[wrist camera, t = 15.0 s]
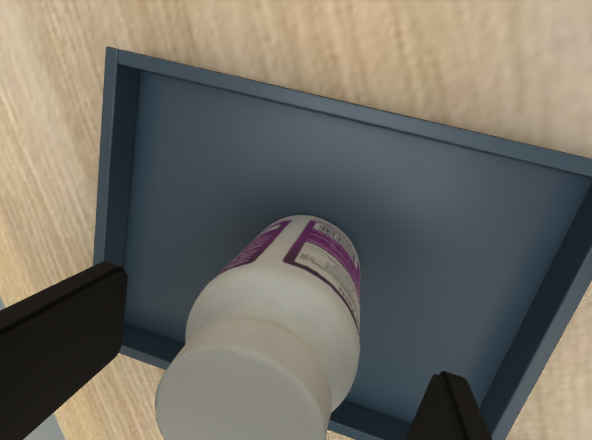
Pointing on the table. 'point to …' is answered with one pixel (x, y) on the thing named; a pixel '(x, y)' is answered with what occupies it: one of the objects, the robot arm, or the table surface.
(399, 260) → the tray
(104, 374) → the table surface
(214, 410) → the pill bottle
